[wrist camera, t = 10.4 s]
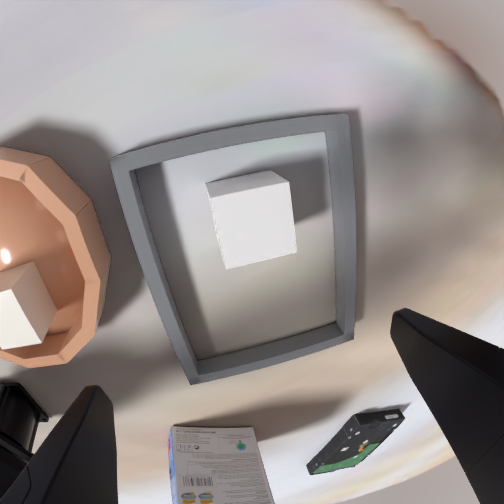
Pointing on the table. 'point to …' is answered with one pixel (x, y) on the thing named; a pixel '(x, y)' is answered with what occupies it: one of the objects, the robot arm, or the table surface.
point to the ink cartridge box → (216, 466)
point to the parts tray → (343, 240)
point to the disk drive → (355, 441)
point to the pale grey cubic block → (252, 218)
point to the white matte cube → (24, 307)
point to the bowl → (53, 251)
